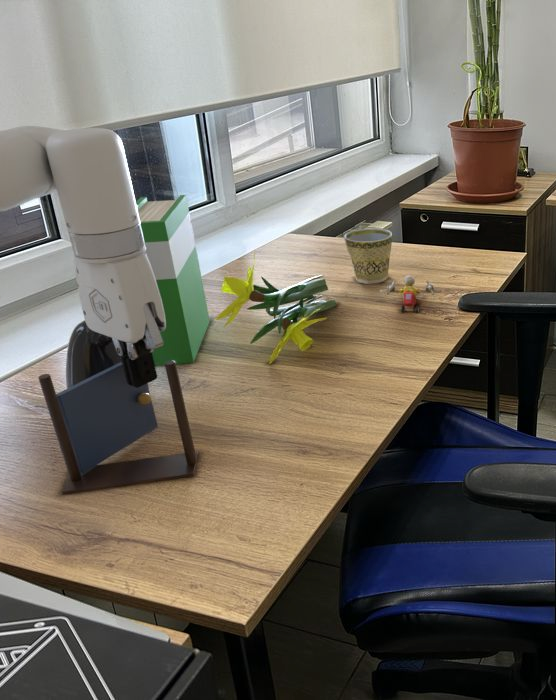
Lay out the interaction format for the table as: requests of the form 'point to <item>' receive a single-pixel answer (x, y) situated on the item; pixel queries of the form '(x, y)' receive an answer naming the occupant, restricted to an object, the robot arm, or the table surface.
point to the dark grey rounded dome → (88, 354)
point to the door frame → (126, 470)
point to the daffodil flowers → (275, 299)
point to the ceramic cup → (369, 253)
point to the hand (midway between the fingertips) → (142, 381)
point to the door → (105, 415)
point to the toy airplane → (410, 293)
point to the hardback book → (175, 277)
